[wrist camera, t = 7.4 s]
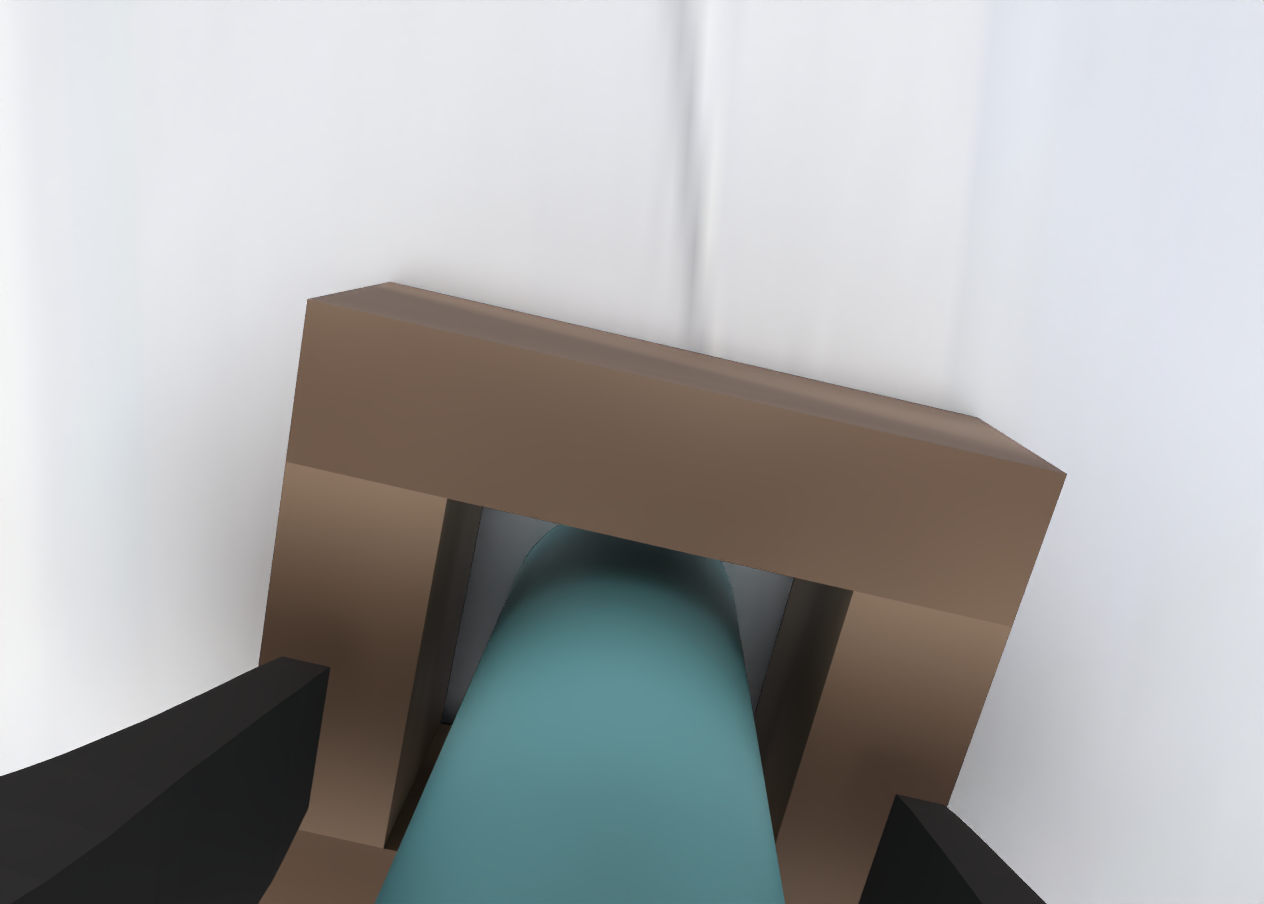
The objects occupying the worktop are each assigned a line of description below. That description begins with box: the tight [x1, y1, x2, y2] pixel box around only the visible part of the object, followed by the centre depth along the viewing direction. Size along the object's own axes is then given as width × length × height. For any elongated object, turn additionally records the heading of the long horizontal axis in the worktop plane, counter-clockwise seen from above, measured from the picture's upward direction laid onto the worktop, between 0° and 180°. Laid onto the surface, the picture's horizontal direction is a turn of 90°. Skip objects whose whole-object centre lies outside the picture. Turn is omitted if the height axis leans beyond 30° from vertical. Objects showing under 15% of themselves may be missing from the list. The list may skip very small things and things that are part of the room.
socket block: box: [258, 282, 1067, 904], centre depth 15 cm, size 10×10×4 cm
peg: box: [375, 524, 785, 904], centre depth 11 cm, size 4×4×10 cm
